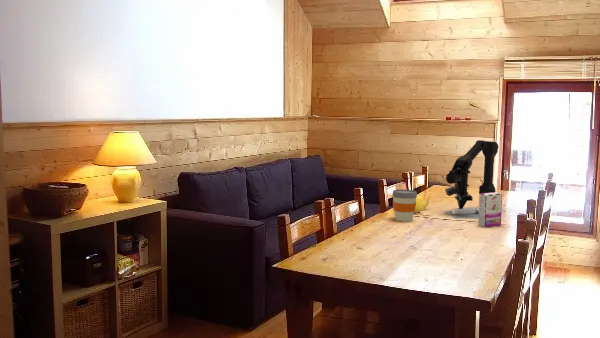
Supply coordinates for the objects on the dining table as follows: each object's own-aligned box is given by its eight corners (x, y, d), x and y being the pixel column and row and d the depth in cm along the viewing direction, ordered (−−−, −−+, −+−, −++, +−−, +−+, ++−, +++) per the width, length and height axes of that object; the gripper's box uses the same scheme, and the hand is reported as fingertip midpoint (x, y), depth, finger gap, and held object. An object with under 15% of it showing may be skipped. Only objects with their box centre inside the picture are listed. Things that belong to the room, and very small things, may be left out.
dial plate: (479, 213, 319) (479, 211, 319) (493, 221, 299) (493, 218, 299) (443, 213, 318) (443, 211, 318) (455, 221, 298) (455, 218, 298)
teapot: (431, 212, 321) (432, 195, 320) (413, 214, 314) (414, 196, 313) (414, 208, 333) (415, 191, 332) (396, 210, 326) (397, 193, 325)
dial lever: (478, 211, 316) (479, 206, 316) (484, 213, 311) (485, 207, 311) (450, 213, 310) (450, 208, 309) (456, 215, 305) (456, 209, 305)
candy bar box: (493, 223, 294) (495, 191, 292) (501, 225, 289) (503, 193, 287) (477, 225, 289) (478, 193, 287) (484, 227, 284) (486, 194, 282)
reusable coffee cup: (400, 216, 309) (401, 188, 308) (420, 220, 300) (421, 191, 299) (386, 219, 301) (387, 191, 299) (406, 223, 292) (407, 194, 290)
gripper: (442, 179, 318) (440, 206, 320) (452, 185, 299) (450, 214, 302) (462, 179, 318) (460, 207, 321) (473, 185, 300) (471, 214, 302)
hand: (460, 210), depth 311 cm, fingers closed
